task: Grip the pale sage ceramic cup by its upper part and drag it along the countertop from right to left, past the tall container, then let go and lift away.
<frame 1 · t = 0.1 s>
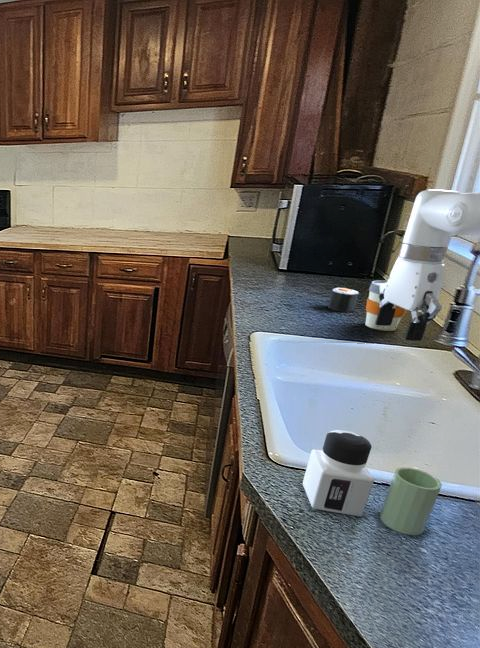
hand: (397, 332, 114), 21 cm above the worktop, tool pointing down, fingers open, 9 cm apart
container: (330, 501, 94), on the worktop
reusable coffee cup: (380, 327, 185), on the worktop
cup: (401, 523, 88), on the worktop
sushi: (340, 309, 204), on the worktop
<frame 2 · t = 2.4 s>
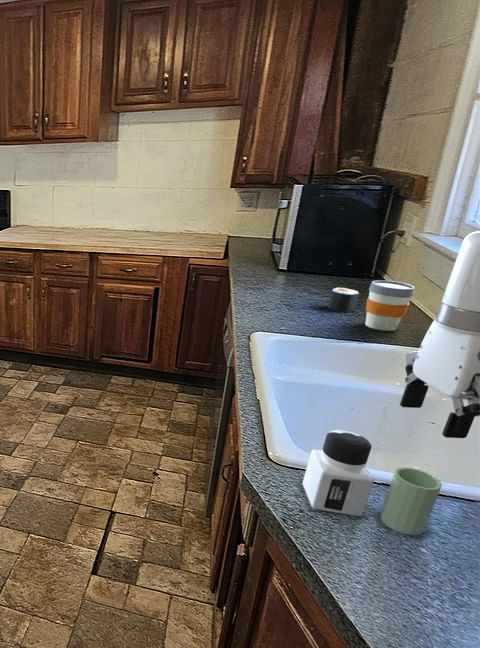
hand: (430, 421, 84), 18 cm above the worktop, tool pointing down, fingers open, 9 cm apart
nothing on the worktop moved.
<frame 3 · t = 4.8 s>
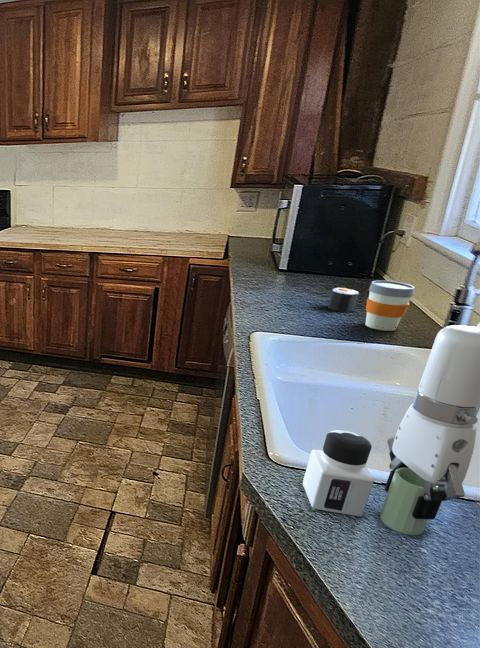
hand: (408, 503, 87), 4 cm above the worktop, tool pointing down, fingers closed on cup, 6 cm apart
cup: (401, 523, 88), on the worktop, touching gripper
everything else where it was.
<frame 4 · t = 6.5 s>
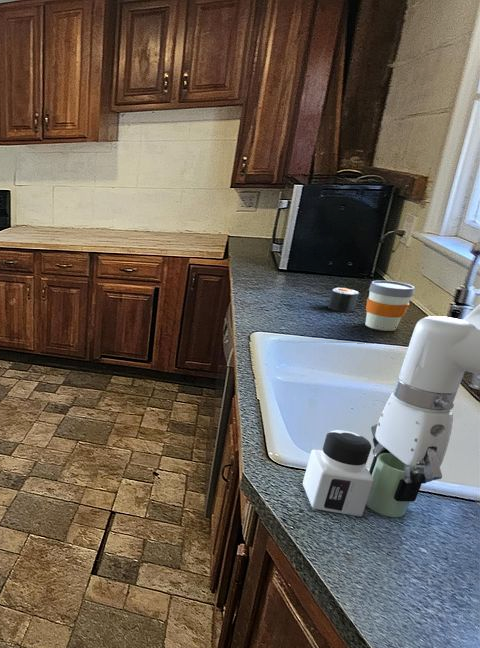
hand: (390, 487, 91), 4 cm above the worktop, tool pointing down, fingers closed on cup, 6 cm apart
cup: (384, 506, 92), on the worktop, touching gripper
everything else where it was.
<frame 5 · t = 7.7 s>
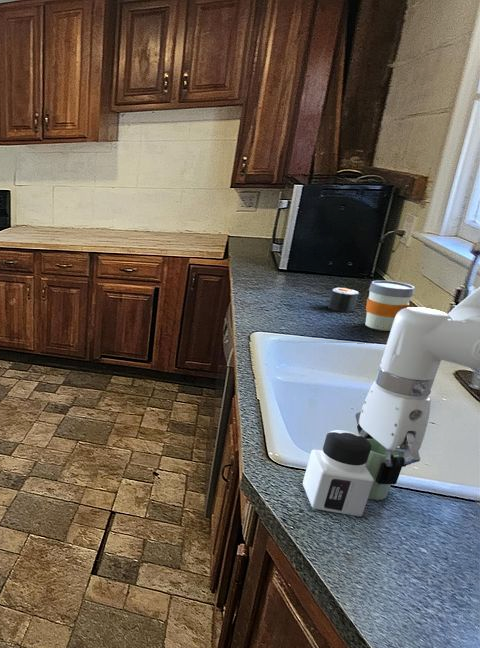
hand: (373, 471, 95), 4 cm above the worktop, tool pointing down, fingers closed on cup, 6 cm apart
cup: (367, 489, 97), on the worktop, touching gripper
everything else where it was.
when the fingers open (4 cm above the worktop, at t = 8.4 s): cup stays where it is, on the worktop.
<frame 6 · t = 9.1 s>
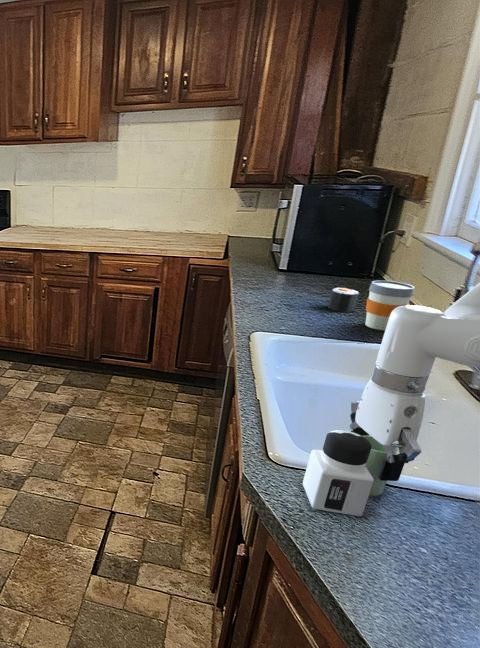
hand: (370, 464, 96), 5 cm above the worktop, tool pointing down, fingers open, 9 cm apart
cup: (363, 485, 98), on the worktop
everything else where it was.
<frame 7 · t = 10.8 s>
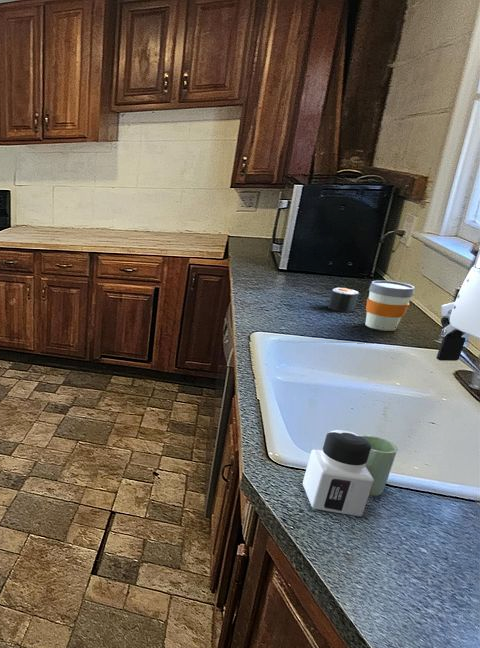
hand: (470, 371, 82), 26 cm above the worktop, tool pointing down, fingers open, 9 cm apart
nothing on the worktop moved.
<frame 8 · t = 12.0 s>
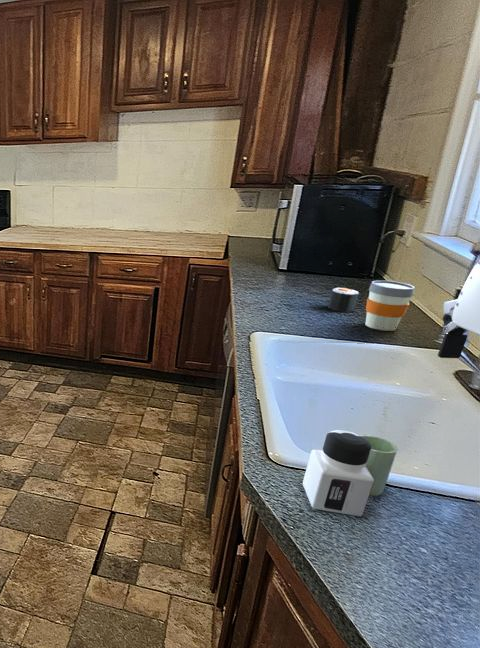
hand: (471, 369, 82), 26 cm above the worktop, tool pointing down, fingers open, 9 cm apart
nothing on the worktop moved.
at the end: cup 0.1 cm from the target spot, on the worktop; cup tilted 0°; the gripper is holding nothing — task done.
